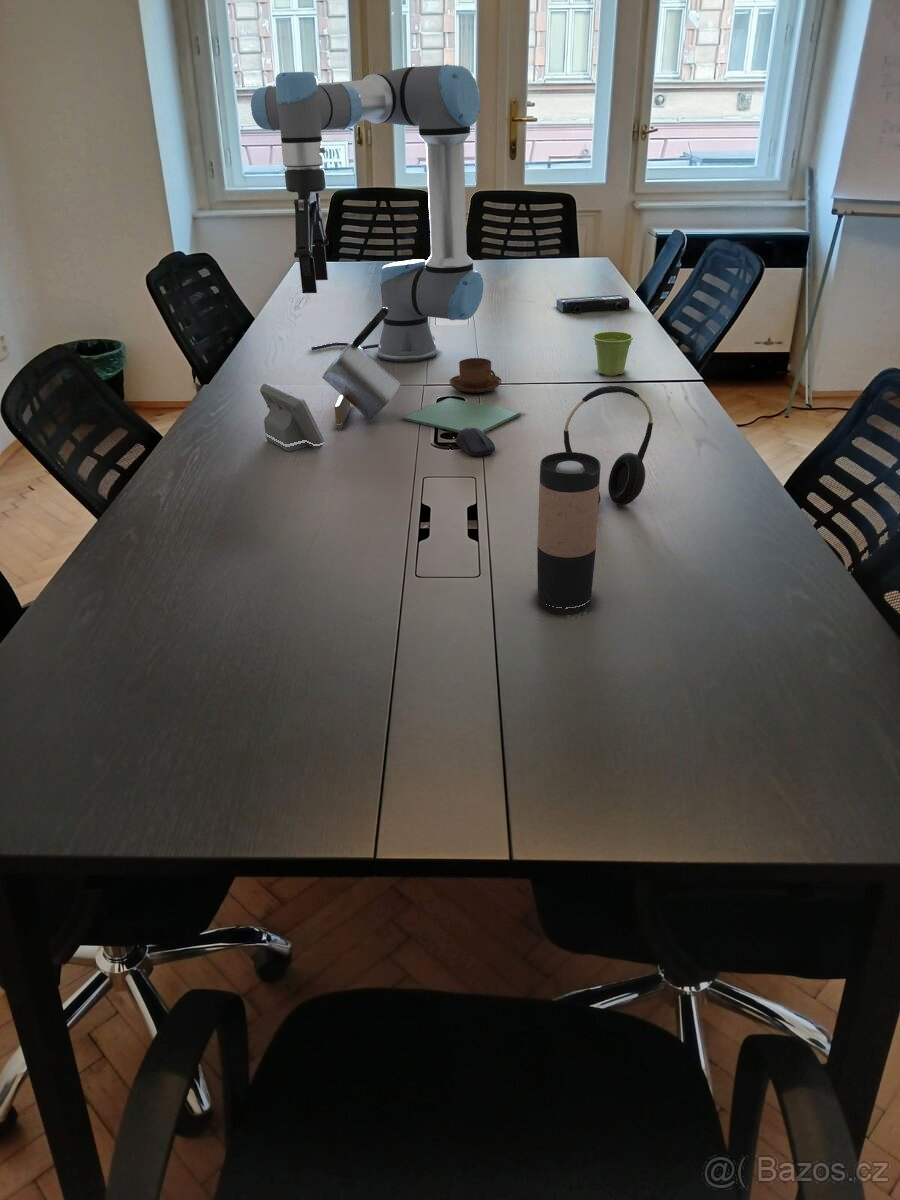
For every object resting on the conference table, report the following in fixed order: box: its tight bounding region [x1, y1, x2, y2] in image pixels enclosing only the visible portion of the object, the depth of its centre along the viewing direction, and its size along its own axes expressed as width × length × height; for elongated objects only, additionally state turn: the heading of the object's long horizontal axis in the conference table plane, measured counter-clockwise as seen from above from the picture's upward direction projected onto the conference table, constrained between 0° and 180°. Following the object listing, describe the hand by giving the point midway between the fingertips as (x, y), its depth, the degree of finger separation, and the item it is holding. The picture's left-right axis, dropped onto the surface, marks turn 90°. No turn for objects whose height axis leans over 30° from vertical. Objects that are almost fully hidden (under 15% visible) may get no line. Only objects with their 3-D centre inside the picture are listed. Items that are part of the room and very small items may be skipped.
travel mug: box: [536, 451, 601, 615], centre depth 114 cm, size 8×8×20 cm
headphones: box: [563, 385, 654, 506], centre depth 141 cm, size 9×15×20 cm, turn 101°
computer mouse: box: [455, 427, 496, 457], centre depth 169 cm, size 6×9×4 cm, turn 27°
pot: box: [321, 307, 401, 420], centre depth 182 cm, size 16×10×23 cm, turn 88°
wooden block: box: [334, 393, 352, 430], centre depth 187 cm, size 1×14×5 cm, turn 178°
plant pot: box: [592, 331, 634, 377], centre depth 210 cm, size 9×9×9 cm
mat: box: [403, 397, 521, 434], centre depth 187 cm, size 19×16×1 cm
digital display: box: [555, 294, 631, 314], centre depth 272 cm, size 21×3×10 cm
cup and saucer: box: [449, 357, 502, 394], centre depth 203 cm, size 12×12×6 cm
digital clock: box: [259, 383, 325, 452], centre depth 174 cm, size 16×9×11 cm, turn 26°
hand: (315, 286), depth 176 cm, fingers open, 13 cm apart
